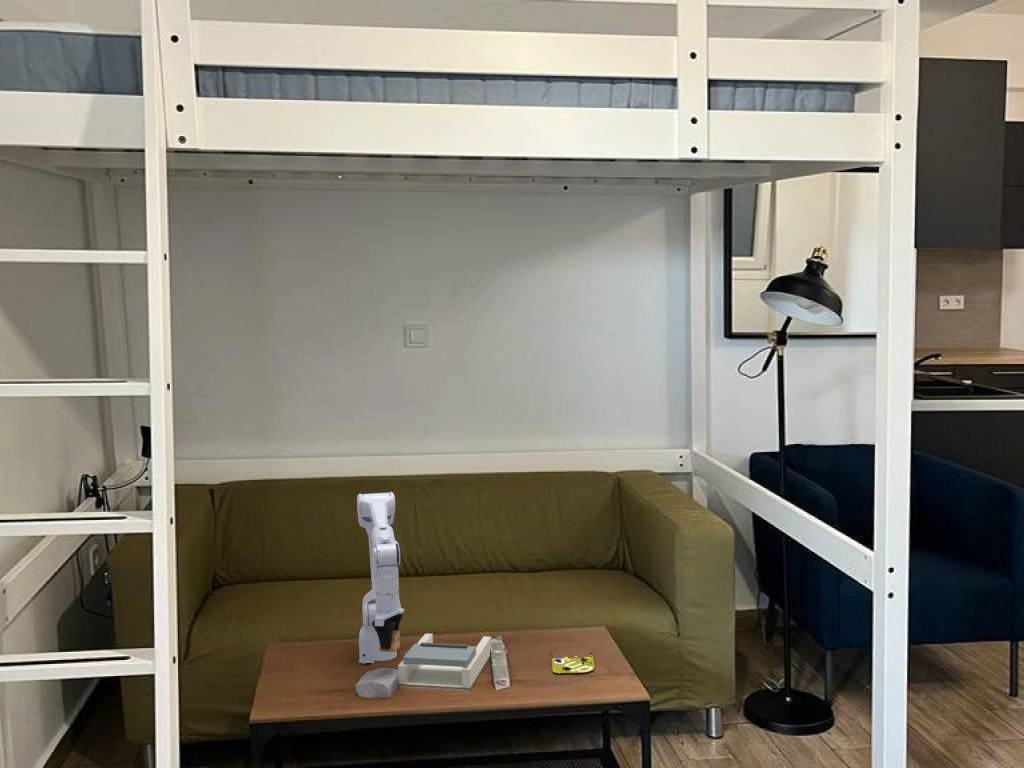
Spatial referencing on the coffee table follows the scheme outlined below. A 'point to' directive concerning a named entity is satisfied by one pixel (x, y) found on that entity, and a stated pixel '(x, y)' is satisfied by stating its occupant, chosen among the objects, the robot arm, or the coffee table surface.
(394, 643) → the block
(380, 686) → the stone block
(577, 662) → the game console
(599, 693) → the coffee table surface
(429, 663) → the slide cover
